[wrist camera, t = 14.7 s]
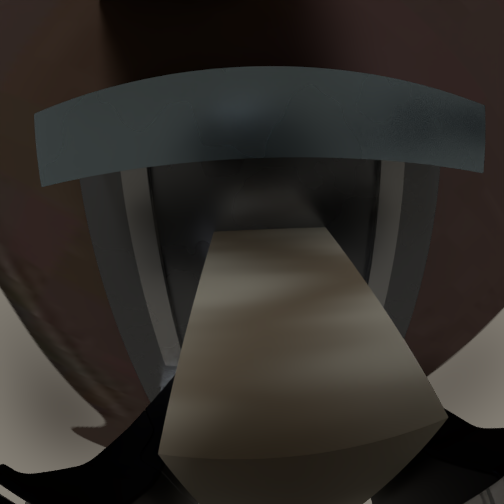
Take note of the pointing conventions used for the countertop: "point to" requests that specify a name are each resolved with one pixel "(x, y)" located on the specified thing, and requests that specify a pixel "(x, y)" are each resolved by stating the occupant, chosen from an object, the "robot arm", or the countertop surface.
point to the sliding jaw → (257, 122)
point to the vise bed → (248, 218)
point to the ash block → (292, 378)
